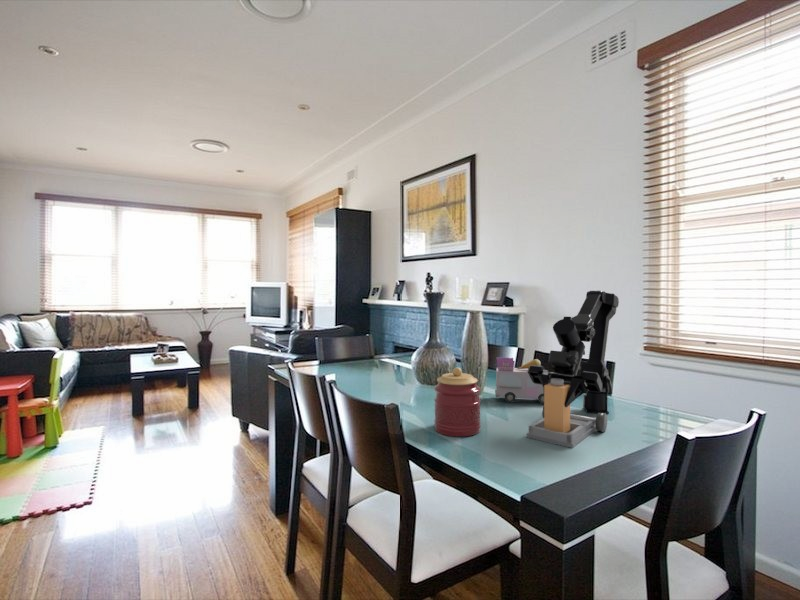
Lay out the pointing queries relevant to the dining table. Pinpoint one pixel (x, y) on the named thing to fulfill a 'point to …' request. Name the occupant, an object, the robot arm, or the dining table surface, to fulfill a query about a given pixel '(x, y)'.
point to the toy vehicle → (516, 381)
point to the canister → (457, 404)
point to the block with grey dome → (556, 406)
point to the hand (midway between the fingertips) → (555, 404)
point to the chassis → (575, 435)
